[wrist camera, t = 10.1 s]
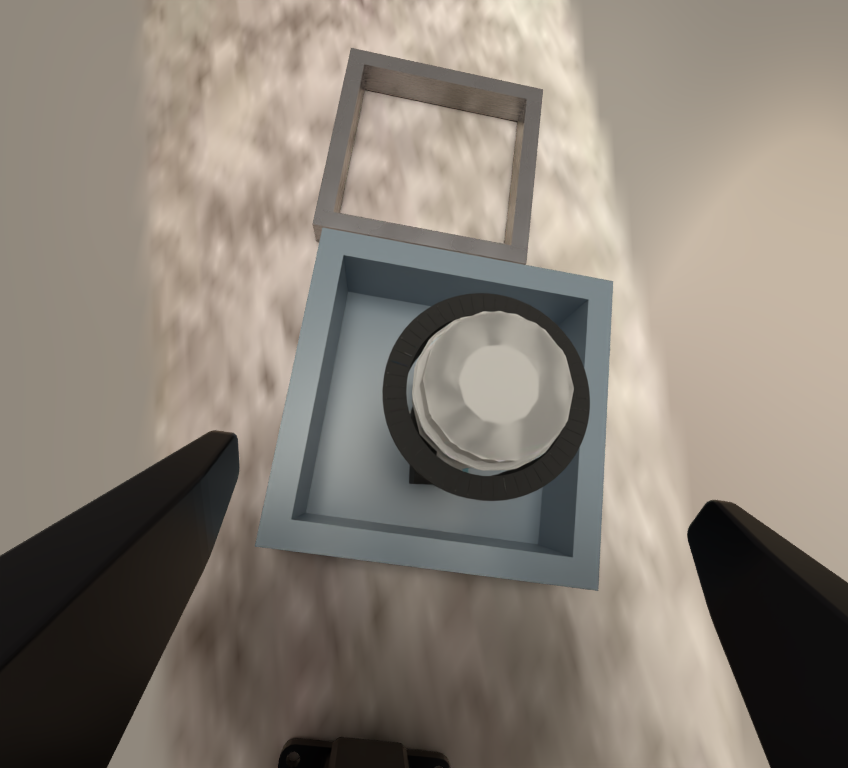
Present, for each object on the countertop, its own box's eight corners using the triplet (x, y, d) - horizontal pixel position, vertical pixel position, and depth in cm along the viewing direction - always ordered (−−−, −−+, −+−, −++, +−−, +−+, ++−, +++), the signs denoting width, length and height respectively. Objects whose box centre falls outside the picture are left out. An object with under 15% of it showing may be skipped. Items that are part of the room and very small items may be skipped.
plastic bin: (554, 569, 20) (598, 590, 16) (279, 533, 19) (254, 546, 15) (571, 315, 23) (613, 281, 19) (331, 272, 22) (322, 227, 18)
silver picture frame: (516, 277, 23) (526, 263, 21) (316, 241, 22) (312, 224, 21) (532, 112, 25) (543, 89, 24) (352, 73, 24) (351, 47, 23)
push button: (383, 340, 21) (393, 217, 11) (497, 349, 21) (602, 237, 12) (374, 490, 19) (376, 498, 10) (496, 495, 20) (615, 507, 10)
